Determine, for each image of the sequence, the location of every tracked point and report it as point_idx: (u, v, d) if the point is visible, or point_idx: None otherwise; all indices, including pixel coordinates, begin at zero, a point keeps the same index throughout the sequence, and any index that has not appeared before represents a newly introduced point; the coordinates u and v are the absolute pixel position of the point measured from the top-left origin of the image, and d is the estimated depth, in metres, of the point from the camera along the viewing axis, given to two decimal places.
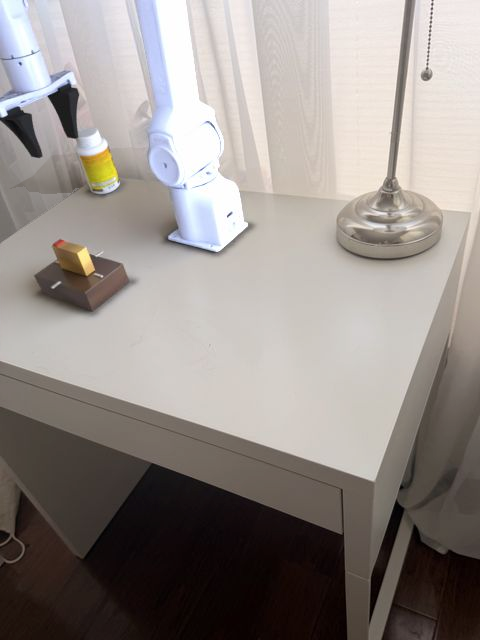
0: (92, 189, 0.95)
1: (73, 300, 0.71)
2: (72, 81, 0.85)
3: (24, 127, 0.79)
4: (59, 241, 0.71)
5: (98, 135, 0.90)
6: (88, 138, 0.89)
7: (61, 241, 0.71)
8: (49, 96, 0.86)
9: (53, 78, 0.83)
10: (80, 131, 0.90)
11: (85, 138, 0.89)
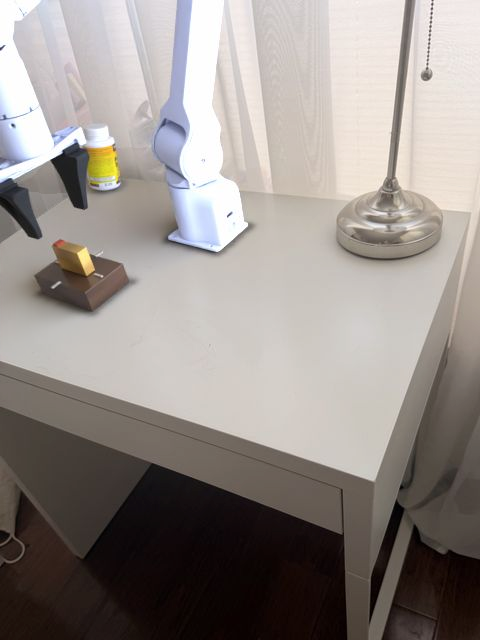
0: (90, 183, 0.95)
1: (73, 300, 0.71)
2: (80, 140, 0.66)
3: (18, 205, 0.61)
4: (59, 241, 0.71)
5: (105, 131, 0.91)
6: (94, 130, 0.90)
7: (61, 241, 0.71)
8: (51, 158, 0.67)
9: (56, 138, 0.65)
10: (91, 125, 0.92)
11: (90, 130, 0.90)
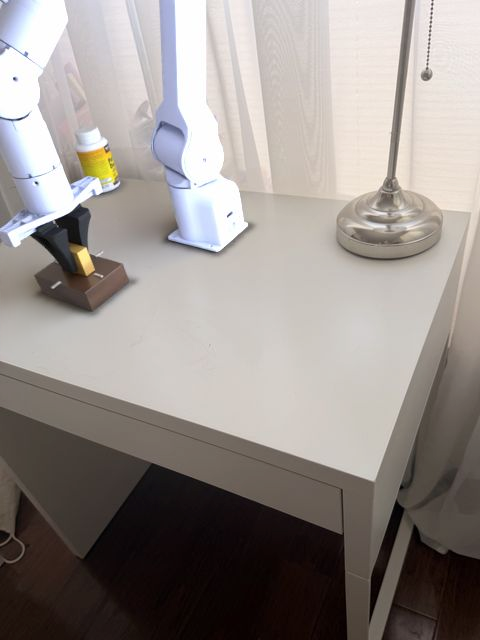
0: None
1: (73, 300, 0.71)
2: (97, 190, 0.70)
3: (58, 244, 0.66)
4: None
5: (95, 134, 0.90)
6: (83, 134, 0.90)
7: None
8: None
9: (75, 189, 0.68)
10: (82, 128, 0.92)
11: (79, 134, 0.90)
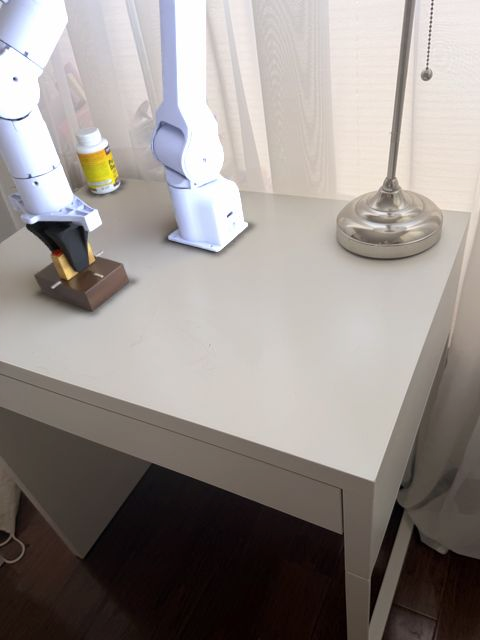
0: (89, 187, 0.96)
1: (73, 300, 0.71)
2: None
3: None
4: (56, 251, 0.69)
5: (95, 135, 0.90)
6: (83, 136, 0.89)
7: (57, 250, 0.69)
8: (41, 230, 0.67)
9: None
10: (83, 129, 0.91)
11: (80, 136, 0.89)
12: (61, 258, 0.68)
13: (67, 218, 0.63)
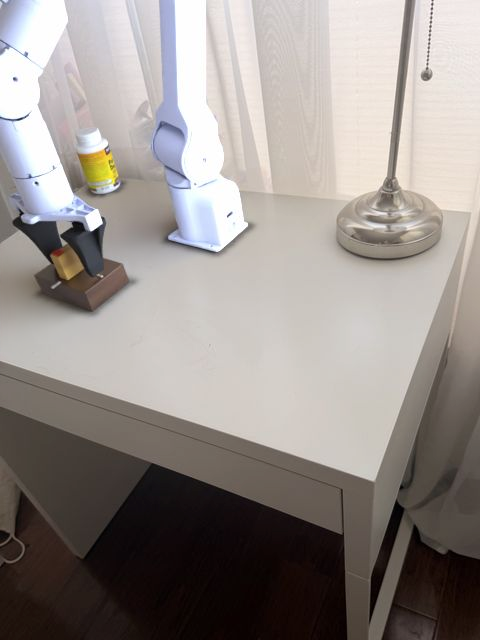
0: (89, 187, 0.96)
1: (73, 300, 0.71)
2: None
3: None
4: (56, 251, 0.69)
5: (95, 136, 0.90)
6: (83, 136, 0.89)
7: (57, 250, 0.69)
8: (27, 226, 0.68)
9: None
10: (83, 129, 0.91)
11: (80, 136, 0.89)
12: (61, 258, 0.68)
13: (68, 218, 0.63)
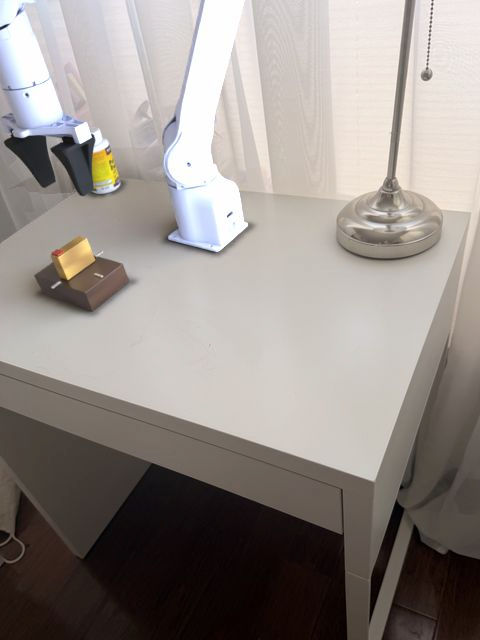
0: None
1: (73, 300, 0.71)
2: None
3: (92, 148, 0.69)
4: (56, 251, 0.69)
5: (96, 136, 0.90)
6: None
7: (57, 250, 0.69)
8: (18, 145, 0.70)
9: None
10: None
11: None
12: (61, 258, 0.68)
13: (58, 131, 0.65)
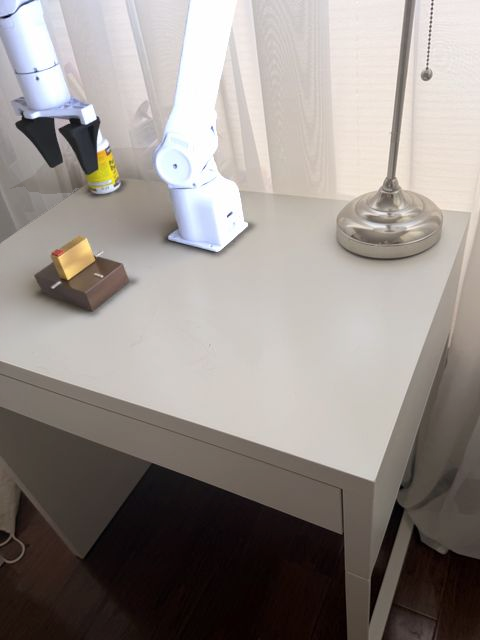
0: (89, 187, 0.96)
1: (73, 300, 0.71)
2: None
3: None
4: (56, 251, 0.69)
5: None
6: None
7: (57, 250, 0.69)
8: (28, 127, 0.75)
9: None
10: None
11: None
12: (61, 258, 0.68)
13: (65, 112, 0.70)
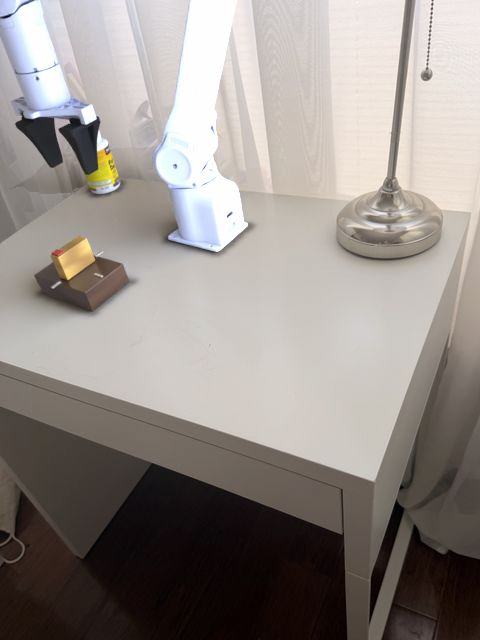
0: (89, 187, 0.96)
1: (73, 300, 0.71)
2: None
3: None
4: (56, 251, 0.69)
5: None
6: None
7: (57, 250, 0.69)
8: (28, 127, 0.75)
9: None
10: None
11: None
12: (61, 258, 0.68)
13: (65, 112, 0.70)
